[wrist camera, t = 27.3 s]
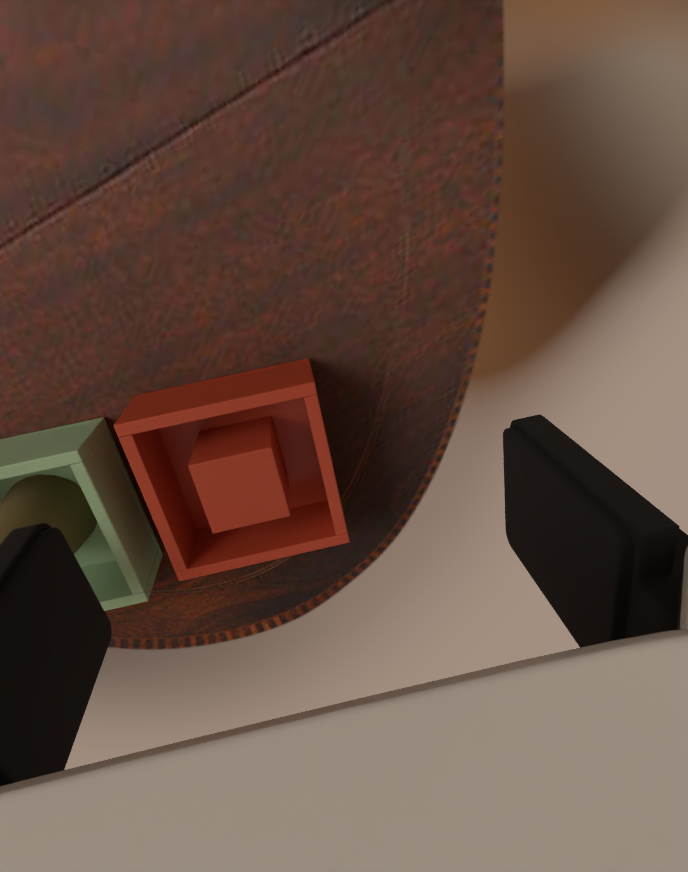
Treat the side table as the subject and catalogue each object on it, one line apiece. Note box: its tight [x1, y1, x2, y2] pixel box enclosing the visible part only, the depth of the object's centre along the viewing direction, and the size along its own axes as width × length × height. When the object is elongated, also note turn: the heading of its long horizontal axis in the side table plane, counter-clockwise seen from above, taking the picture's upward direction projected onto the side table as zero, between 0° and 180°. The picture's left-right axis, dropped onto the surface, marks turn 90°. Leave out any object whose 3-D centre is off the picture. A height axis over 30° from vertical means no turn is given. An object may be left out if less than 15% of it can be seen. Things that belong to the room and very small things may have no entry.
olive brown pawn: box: [0, 474, 97, 554], centre depth 30 cm, size 6×6×11 cm
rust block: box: [188, 416, 290, 533], centre depth 32 cm, size 5×5×5 cm
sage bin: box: [0, 417, 163, 611], centre depth 33 cm, size 12×12×5 cm
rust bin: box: [114, 358, 350, 581], centre depth 33 cm, size 12×12×5 cm
